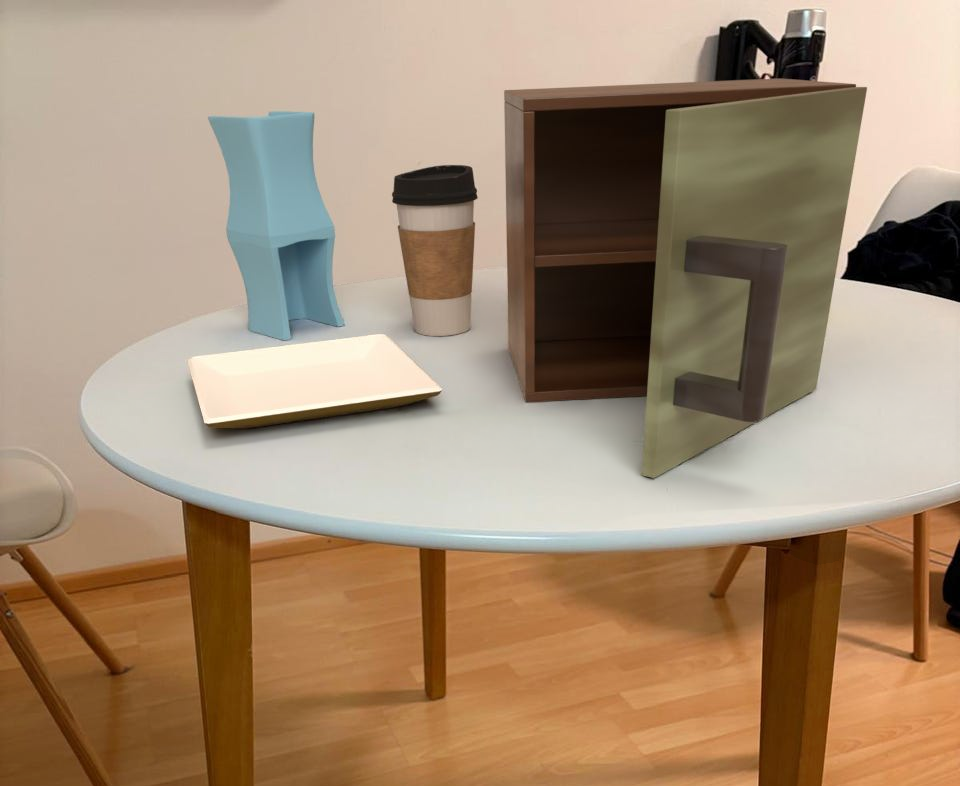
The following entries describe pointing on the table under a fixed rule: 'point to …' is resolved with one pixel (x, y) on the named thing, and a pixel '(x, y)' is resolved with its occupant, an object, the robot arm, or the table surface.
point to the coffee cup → (437, 245)
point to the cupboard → (593, 227)
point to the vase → (278, 220)
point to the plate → (306, 381)
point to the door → (744, 263)
